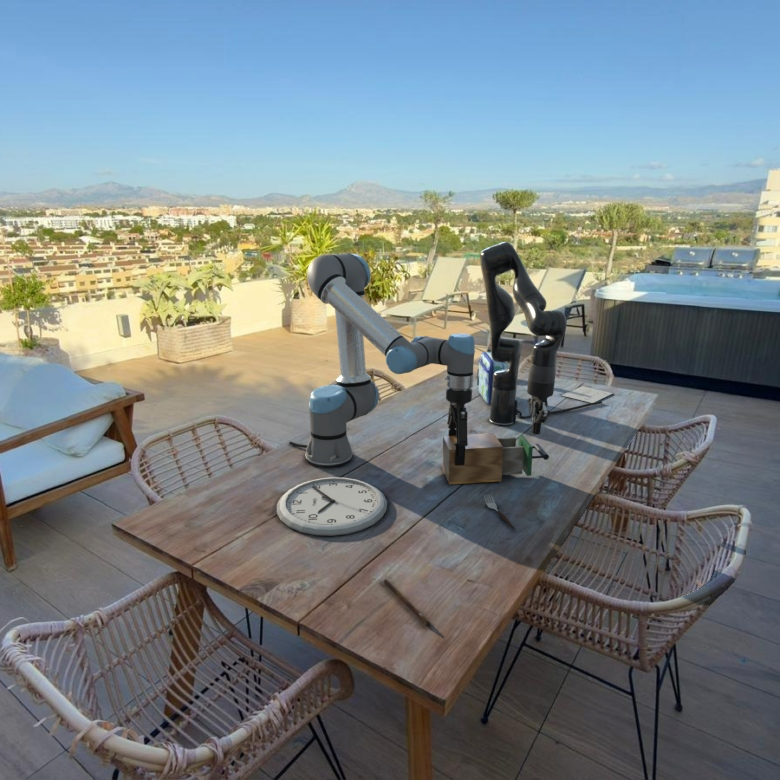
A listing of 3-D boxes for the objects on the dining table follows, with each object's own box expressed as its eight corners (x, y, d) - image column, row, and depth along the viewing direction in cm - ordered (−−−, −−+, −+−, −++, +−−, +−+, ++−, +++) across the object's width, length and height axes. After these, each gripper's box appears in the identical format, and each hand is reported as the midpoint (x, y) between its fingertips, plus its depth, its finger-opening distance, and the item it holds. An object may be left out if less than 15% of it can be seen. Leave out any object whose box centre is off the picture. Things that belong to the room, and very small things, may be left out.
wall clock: (392, 527, 129) (268, 531, 127) (391, 533, 130) (269, 537, 127) (383, 473, 158) (282, 475, 155) (383, 478, 158) (282, 480, 156)
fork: (509, 531, 131) (510, 524, 131) (482, 501, 146) (482, 494, 145) (519, 530, 132) (519, 523, 132) (491, 499, 147) (491, 493, 146)
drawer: (537, 461, 167) (539, 433, 164) (548, 474, 158) (550, 445, 155) (475, 464, 166) (476, 437, 163) (482, 478, 157) (483, 449, 154)
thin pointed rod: (383, 582, 112) (383, 578, 112) (385, 582, 112) (385, 578, 112) (426, 626, 100) (426, 621, 100) (428, 625, 100) (428, 620, 100)
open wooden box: (492, 465, 167) (493, 433, 163) (501, 481, 157) (502, 446, 153) (442, 468, 166) (442, 435, 162) (448, 484, 156) (449, 449, 152)
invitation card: (582, 386, 254) (612, 393, 244) (582, 386, 255) (612, 393, 244) (561, 395, 240) (592, 402, 230) (561, 395, 240) (592, 403, 230)
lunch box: (475, 390, 246) (478, 346, 240) (498, 390, 246) (501, 347, 240) (484, 408, 221) (487, 360, 215) (509, 409, 221) (513, 360, 215)
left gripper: (439, 376, 163) (437, 441, 170) (454, 400, 141) (450, 474, 148) (463, 376, 164) (460, 441, 170) (481, 399, 142) (476, 473, 148)
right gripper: (522, 372, 159) (516, 425, 165) (536, 385, 147) (530, 442, 152) (545, 372, 160) (540, 425, 165) (562, 385, 147) (555, 441, 153)
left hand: (455, 456), depth 159 cm, fingers closed on open wooden box, 11 cm apart
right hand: (535, 433), depth 159 cm, fingers closed
